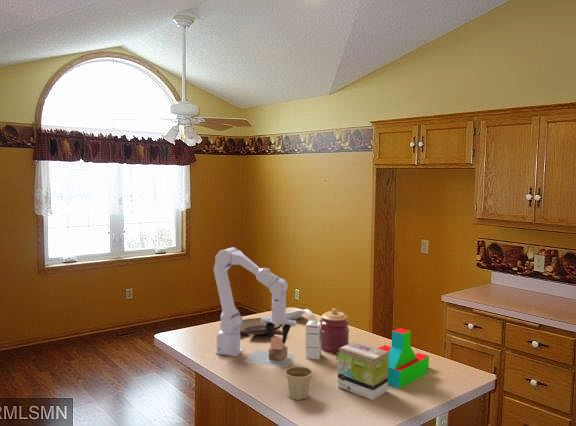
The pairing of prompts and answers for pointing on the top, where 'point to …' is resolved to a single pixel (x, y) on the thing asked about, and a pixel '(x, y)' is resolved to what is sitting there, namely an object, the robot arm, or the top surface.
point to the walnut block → (278, 354)
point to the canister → (334, 331)
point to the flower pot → (298, 382)
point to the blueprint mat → (263, 358)
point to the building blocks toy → (404, 360)
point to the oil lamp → (255, 327)
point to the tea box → (363, 370)
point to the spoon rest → (299, 314)
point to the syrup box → (313, 339)
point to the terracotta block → (277, 342)
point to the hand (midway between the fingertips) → (278, 341)
